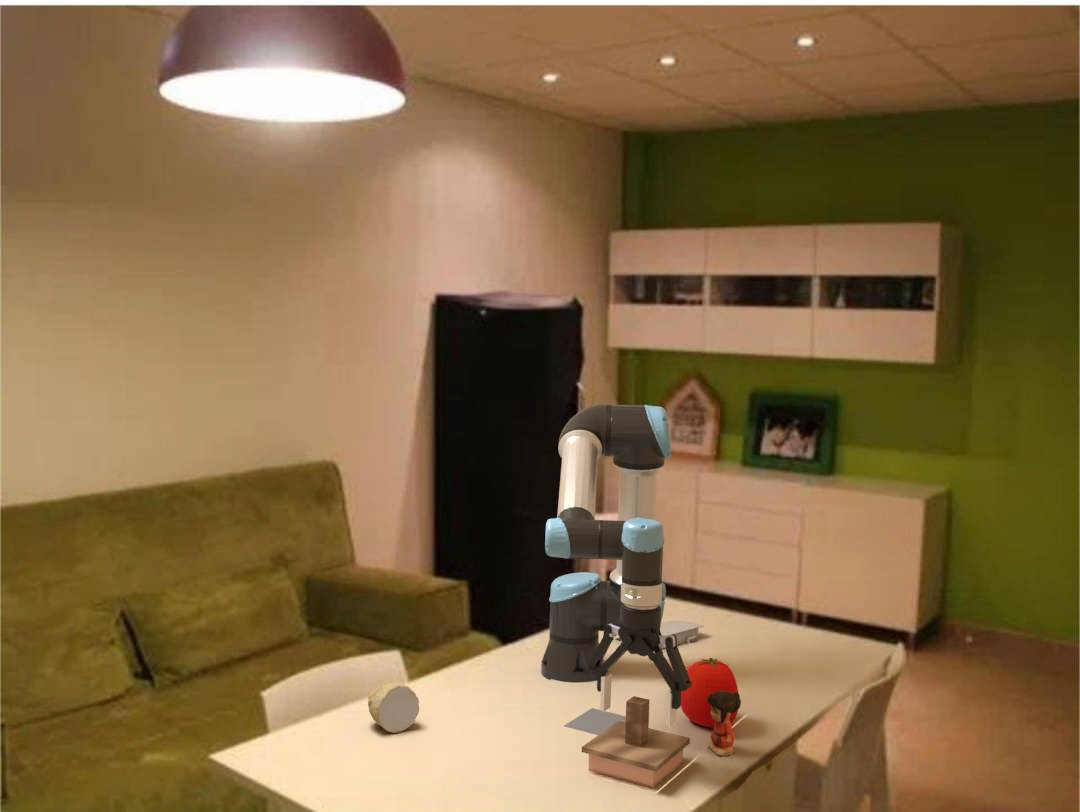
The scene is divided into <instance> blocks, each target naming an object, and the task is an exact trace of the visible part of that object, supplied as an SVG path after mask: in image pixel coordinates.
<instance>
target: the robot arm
mask: <svg viewBox="0 0 1080 812" xmlns="http://www.w3.org/2000/svg"><path fill="white" fill-rule="evenodd" d="M671 444H672V443H671V435H670V425H669V418H668V413H667V410H666V409H665V408H663V407H662V406H659V405H658V406H654V405H647V404H606V403H605V404H604V403H602V404H601V403H600V404H593V405H590V406H588V407H586V408H583V409H581V410H580V411H578V412H577V413H576V414H575V415H573V416H572V417H570V419H569V420H568V422H566V424H565V426H564V427H563V429H562V430H561V433H560V435H559V439H558V446H557V447H558V454H559V456H560V458H561V467H560V479H559V480H560V481H559V491H558V504H557V505H558V506H557V517H554V518H548V519H547V521H546V523H545V534H544V535H545V541H544V546H545V547H544V549H545V554H546V555H547V556H549V557H552V558H561V559H565V560H568V559H574V560H575V559H577V560H578V559H579V560H580V559H581V560H582V559H583V560H585V559H587V560H589V559H590V560H613V561H616V568H614V569H613V570H612V571H611V572H610V574H609V580H602V578H601V576H600V574H599V573H596V572H591V571H590V572H589V571H584V572H583V571H580V572H573V573H571V572H570V573H568V574H567V573H566V574H564V575H560V576H558V577H557V578H555V579H554V580H553V581H552V582H551V584H550V596H549V598H548V599H549V600H548V601H549V602H550V605H549V607H550V609H549V633H548V634H549V637H548V638H549V639H548V642H547V646H546V647H545V651H544V654H543V656H542V659H541V664H540V665H541V668H540V669H541V671H540V673H541V675H542V676H543V677H544V678H546V679H549V680H553V681H559V682H563V683H578V684H579V683H589V682H593V681H596V690H597V692H599V693H600V703H599V704H600V709H599V710H600V711H603V712H604V711H606V712H607V711H608V709H610V708H612V707H611V703H612V699H611V698H612V673H609V672H610V669H612V667H613V666H614V665H615V664H616V663H618V661H619V660H620V659H621V658H622V657H623V655H624V654H625V653H626V652H627V651H628V653H629V655H638V656H640V657H646V656H647V658H648V659H649V660H650V661H651V662H652V663H653V664H654V666H655V667H656V669H657V670H658V672H659V673H660V676H661V677H662V678H663V680H664V681H665V683H666V685H667V686H668V688H669V690H667V691H666V708H665V709H666V713H665V727H666V728H671V727H672V726H674V725H675V724H676V723H677V710H678V709H680V707H681V691H686V690H687V689H688V688H690V687H691V686H692V683H691V680H690V678H689V675H688V673H687V669H686V668H687V667H686V666H685V663H684V661H683V658H682V655H681V652H680V649H679V647H678V644H677V637H676V635H674V634H672V635H671V636H664V635H661V632H660V626H661V623H662V620H663V617H664V610H665V609H664V608H665V603H666V602H665V600H666V595H667V593H666V592H667V591H666V590H667V588H666V584H665V583H663V561H664V544H665V537H664V526H663V523H661V521H658V520H656V518H657V517H656V513H657V511H656V510H657V487H658V472H659V471H660V470H662V469H663V468H664V467H665V460H666V459H670V458H671V457H672V445H671ZM602 456H603V457H612V465H613V466H614V467H615V468H616V469H617V470H618V472H619V473H618V475H619V476H618V480H619V481H618V505H617V506H618V507H617V509H618V510H617V511H618V512H617V520H613V519H612V520H611V519H610V520H609V519H607V520H606V519H596V501H597V500H596V499H597V472H598V471H597V469H598V460H599V459H600V457H602ZM600 632H603V633H602V634H603V635H602V638H601V640H600V639H599V634H600ZM617 634H618V635H617ZM616 636H618V637H619V640H620V639H621V640H620V641H621V643H620V644H619V646H617V647H616V648H615V650H614V651H613V653H612V654H611V655H610V656H609V657H608V658H607V659H606V660H605V659H604V658H605V656H606V654H607V652H608V650H609V648H610V647H611V644H612V643H613V640H614V639H615V637H616ZM599 641H600V642H599ZM661 642H662V643H663V647H665V648H664V649H665V652H666V655H667V658H668V660H667V659H666V657H665V655H664V653H663V652H664V651H663V649H661V648H660V647H659V644H660V643H661ZM668 661H669V662H668Z"/></svg>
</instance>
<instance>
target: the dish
mask: <svg viewBox="0 0 1080 812" xmlns="http://www.w3.org/2000/svg"><path fill="white" fill-rule="evenodd" d="M683 758H684V749H683V750H681V751H680V752H679V753H678V754H677V755H675V756H674V757H673V758H672V759H671V760H670V761H668V762H667V763H666V764H665V765H664V766H663V767H661V768H660V769H659V770H658V771H657V772H655V771H651V770H647V769H644V768H640V767H636V766H632V765H629V764H625V763H621V762H617V761H613V760H610V759H606V758H602V757H598V756H595V755H591V754H588V771H589V772H593V773H596V774H600V775H604V776H608V777H611V778H614V779H619V780H621V781H625V782H628V783H632V784H635V785H640V786H643V787H645V788H649V789H654V788H655V787H656V786H657V785H659V784H660V783H661V782H662V781H663V780H664V779H665V778H667V777H668V776H669V775H670V774H671V773H673V771H675V770H676V769H677V768H678V767H680V766H681V765H682V764H683V760H684V759H683Z"/></svg>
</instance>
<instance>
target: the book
mask: <svg viewBox="0 0 1080 812" xmlns="http://www.w3.org/2000/svg"><path fill="white" fill-rule="evenodd" d="M703 627H705V626H704V625H703V624H700V623H696V622H690V621H684V620H667V621H663V622H662V621H661V626H660V632H661V635H664V636H671V635H672V634H674V635H676V637H677V645H680V644H683V643H686V644H690V643H691V641H692V643H694V641H696V642H698V636H697V635H699V628H700V629H701V628H703ZM616 636H619V635H618V634H617V635H616ZM619 641H621V639H620V638H619ZM659 647H660V648H661V650H663V649H666V648H665V647H663V643H662V642H661V643H660V644H659Z"/></svg>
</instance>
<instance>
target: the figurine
mask: <svg viewBox="0 0 1080 812" xmlns="http://www.w3.org/2000/svg"><path fill="white" fill-rule="evenodd" d="M707 701H708V704H709V706H710V707H711V717H712V718H713V719H714V720H715V724H714V728H713V731H712V732H711V734H710V741H711V742H710V743H708V748H709V749H710V751H712V752H713V754H715V756H718V757H729V756H730V755H733V754H734V753H735V750H734V747H733V745H734V743H735V737H736V735H735V732H734V731H733V723H732V724H731V722H730V719H729V717H730V714H732V713H735V712H736V711H737V710H739V709H740V708H741V704H742V700H741V698H740V693H739V692H738V693H734V692H732V691H731V692H727V691H724V690H723V691H719V692H716V693H712V694H710V695H709V697H708V698H707ZM712 752H711V753H712Z"/></svg>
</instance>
